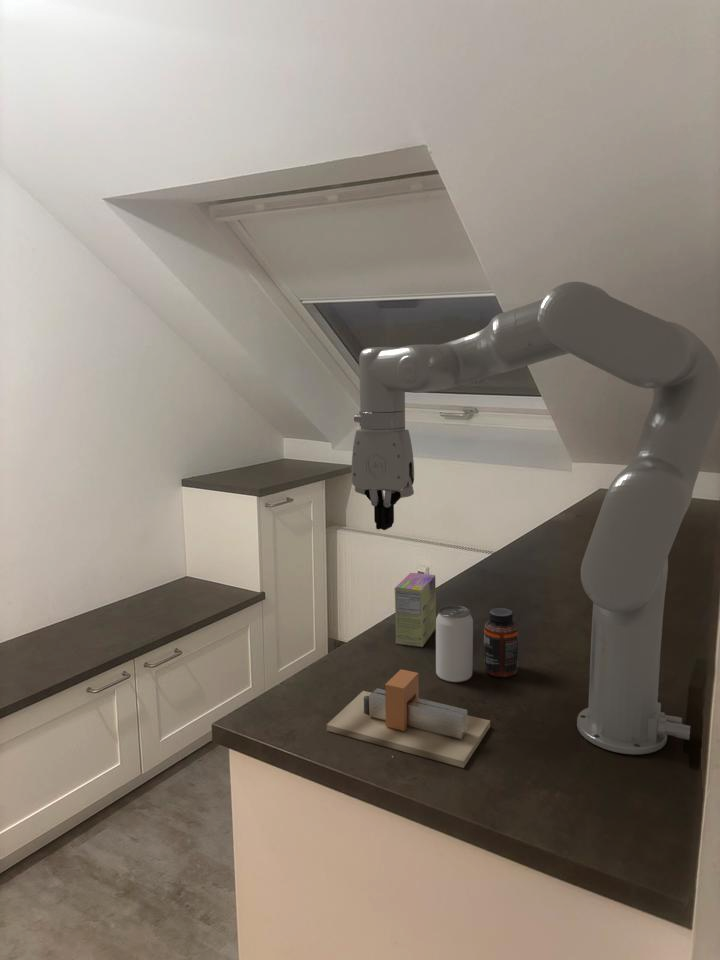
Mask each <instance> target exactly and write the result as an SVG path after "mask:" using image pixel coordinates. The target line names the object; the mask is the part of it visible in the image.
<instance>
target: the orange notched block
mask: <svg viewBox="0 0 720 960" xmlns="http://www.w3.org/2000/svg"><path fill="white" fill-rule="evenodd" d="M419 679H420V678H419V672H416V671H411V670H407V669H406V670H405V669H402V668H400V669H399V670H398V672H395V674H394V675H393V676H392V677H391V678H390V679H389V680H388V681H387V682H386V683H385V684H384V688H385V689H384V690H385V706H386V727H390V728H394V729H398V730H402V731H404V730H405V729H406V728H407V708H406V703H407V702H408V701H409V700H410V699H411V698H412V697H416V698H419V697H420V695H419V694H420V693H419V692H420V691H419V690H420V688H419V686H420V685H419Z"/></svg>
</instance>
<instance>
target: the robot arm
mask: <svg viewBox="0 0 720 960" xmlns="http://www.w3.org/2000/svg"><path fill="white" fill-rule="evenodd" d="M567 354H571V355H572V356H575V357H576V358H578V359H580V360H582V361H584V362H586V363H588V364H590V365H591V366H594V367H597V368H599V370H602V371H604V372H606V373H608V374H610V375H612V376H613V377H615V378H618V379H619V380H621V381H623V382H625V383H628V384H630V385H632V386H635V387H638V388H643V389H652V390H653V397H652V402H651V405H650V408H649V411H648V413H647V416H646V418H645V421H644V424H643V427H642V431H641V434H640V436H639V439H638V442H637V444H636V447H635V450H634V452H633V455H632V457H631V460H630V462H629V464H628V465H627V466H626V467H625V468H624V469H623V470H621V471H620V472H619V474H617V475H616V476H615V478H614V479H613V481H611V483H610V485H609V487H608V489H607V491H606V494H605V496H604V499H603V502H602V504H601V507H600V510H599V513H598V516H597V517H596V521H595V524H594V527H593V530H592V533H591V535H590V539H589V541H588V544H587V547H586V549H585V553H584V556H583V559H582V562H581V566H580V581H581V584H582V587H583V590H584V592H585V594H586V595H587V597H588V598H589V599H590V600H591V602H592V616H591V617H592V618H591V631H590V632H591V633H590V634H591V635H590V637H591V638H590V639H591V640H590V660H589V680H588V681H589V682H588V683H589V687H588V707H586V708H584V709H583V710H581V711H580V712H579V713H578V715H577V718H576V727H577V730H578V732H579V733H580V735H581V736H583V738H584V739H585V740H587V741H588V742H589V743H591V744H593V745H595V746H597V747H599V748H602V749H604V750H606V751H611V752H614V753H618V754H619V753H620V754H624V755H646V754H648V755H649V754H652V753H655V752H657V751H659V750H661V749H663V747H665V746H666V744H667V740H668V736H672V737H675V738H678V739H683V740H688V741H690V738H691V737H690V735H691V725H689V724H688V725H687V724H683V717H680V716H676V715H675V716H674V715H668V714H665V712H663V711H661V708H662V704H661V702H658V698H659V684H660V682H659V679H660V665H661V648H662V638H663V637H662V636H663V623H664V622H663V620H664V608H665V599H666V598H665V597H666V592H667V591H666V589H667V582H668V581H667V580H668V572H669V558H668V557H669V554H670V552H671V550H672V547H673V544H674V542H675V539H676V537H677V535H678V532H679V529H680V526H681V524H682V522H683V520H684V518H685V515H686V513H687V511H688V509H689V507H690V505H691V503H692V498H693V492H694V487H695V484H696V482H697V478H698V476H699V473H700V470H701V468H702V466H703V463H704V461H705V458H706V455H707V451H708V450H709V446H710V443H711V440H712V437H713V436H714V435H713V434H714V432H715V429H716V426H717V423H718V420H719V417H720V365H719V364H718V361H717V359H716V357H715V356H714V354H713V352H712V351H711V349H710V348H709V347H708V346H707V345H706V344H705V343H704V342H703V340H701V338H700V337H698V336H697V335H696V334H695V333H693V331H691V330H690V329H688V328H687V327H685V326H683V325H681V324H679V323H678V322H677V323H676V322H673V321H670V320H669V321H667V320H664V319H662V318H659V317H658V316H655V315H652V314H651V313H648V312H646V311H644V310H641V309H640V308H637V307H635V306H633V305H631V304H628V303H625V302H623V301H622V300H619V299H617V298H615V297H613V296H611V295H610V294H609V293H608V292H606V291H605V290H604V289H602V288H600V287H599V286H596V285H593V284H590V283H587V282H583V281H568V282H564V283H562V284H559V285H558V286H555V287H554V288H553V289H551V290H550V291H549V292H548V293H547V294H546V295H545V296H544V298H541V299H539V300H536V301H533V302H531V303H528V304H524V305H522V306H519V307H515V308H514V309H513V308H512V309H510V310H507V311H505V312H501V313H498V314H496V315H495V316H494V317H493V318H492V319H491V320H490V322H489V323H488V325H486V326H485V327H484V328H482V329H480V330H479V331H476V332H474V333H471V334H469V335H466V336H463V337H460V338H458V339H457V338H456V339H455V340H454V339H453V340H451V341H448V342H444V343H440V344H429V343H428V344H427V343H426V344H425V343H423V344H411V345H410V344H409V345H405V346H404V345H403V346H399V347H395V346H379V347H377V346H375V347H374V346H373V347H366V348H363V350H361V352H360V354H359V360H358V361H359V362H358V365H359V366H358V368H359V371H358V372H359V405H360V407H359V413H358V414H357V413H356V414H355V415H353V421H354V423H359V427H360V429H357V430H355V434H354V440H353V446H352V453H351V455H352V456H351V472H350V473H351V484H352V486H353V487H354V491H355V493H357V494H361V495H362V496H363V495H364V496H366V497H367V499H368V500H369V501H370V504H371V506H373V508H374V509H373V510H374V511H373V512H374V517H373V518H374V519H373V520H374V523H375V529H376V530H381V531H387V530H388V529H391V528H392V527H393V525H394V523H395V505H396V504H397V502H398V501H399V500H400V499H402V498H403V499H404V498H408V497H412V496H413V495H414V494H415V491H414V487H413V484H414V482H415V461H414V454H413V453H414V452H413V445H412V439H411V436H410V432H409V429H406V393H413V394H414V393H415V394H418V393H421V394H422V393H428V392H434V391H435V392H436V391H442V390H443V391H444V390H448V389H451V388H455V387H458V386H462V385H465V384H468V383H471V382H475V381H478V380H482V379H485V378H488V377H489V378H490V377H491V376H494V375H497V374H502V373H503V374H504V373H508V372H510V371H511V372H512V371H515V370H517V369H520V368H524V367H527V366H530V365H534V364H537V363H539V362H543V361H547V360H550V359H554V358H557V357H560V356H565V355H567Z"/></svg>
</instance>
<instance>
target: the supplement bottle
mask: <svg viewBox="0 0 720 960" xmlns="http://www.w3.org/2000/svg"><path fill="white" fill-rule="evenodd" d="M513 616H514V614H513V611H512V610H511V609H509V608H504V607H496V608H493V609H491V610H490V611H489V620H487V621H486V622H485V623H484V627H483V628H484V629H483V633H484V634H483V636H484V637H483V639H484V640H483V651H484V652H483V654H484V655H483V657H484V658H483V659H484V661H483V662H484V663H483V664H484V671H485V672H486V674H488V675H490V676H492V677H497V678H508V677H509V678H510V677H513V676H515V675H516V674H517V673H518V670H519V669H518V667H519V665H518V664H519V663H518V659H519V658H518V656H519V627H518V625H517V623H516V622H515V621H514V617H513Z"/></svg>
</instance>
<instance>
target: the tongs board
mask: <svg viewBox="0 0 720 960" xmlns="http://www.w3.org/2000/svg"><path fill="white" fill-rule="evenodd" d="M371 693H372V692H369V691H365V690H362V691H361V692H360V693H359V694H357V696H356V697H355V698H353V700H351V702H349V703H348V704H347V705H346V706H345V707H343V708H342V709H341V710H340V712H339V713H337V714H336V715H335V716H334V717H333V718H332V719H331V720H330V721H329V722H328V723H326V731H327V732H331V733H334V734H338V735H341V736H344V737H345V736H346V737H349V738H351V739H356V740H360V741H364V742H367V743H371V744H375V745H377V746H378V745H379V746H382V747H386V748H388V749H392V750H396V751H401V752H403V753H408V754H410V755H415V756H419V757H422V758H426V759H430V760H433V761H436V762H441V763H445V764H447V765H451V766H455V767H457V768H463V769H464V768H465V766H466V765H467V763H468V762H469V761H470V759H471V757H472V755H473V754H474V753H475V751H476V749H477V748H478V747H479V745H480V743H481V742H482V740H483V739H484V737H485V736H486V734H487V733H488V731H489V730H490V728H491V720H490V719H485V718H480V717H476V716H472V715H468V714H467V732H466V733H465V735H464V736H463V738H462V739H459V738H455V737H451V736H447V735H443V734H439V733H435V732H431V731H427V730H423V729H419V728H415V727H411V726H407V728H406V729H405V730H404V731H402V730H398V729H394V728H390V727H386V720H383V719H379V718H375V717H371V716H369V695H370V694H371Z"/></svg>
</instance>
